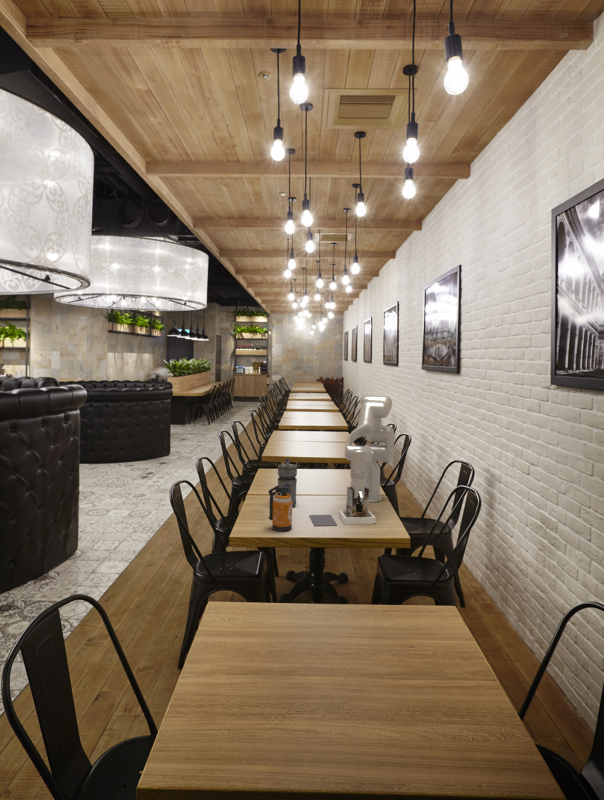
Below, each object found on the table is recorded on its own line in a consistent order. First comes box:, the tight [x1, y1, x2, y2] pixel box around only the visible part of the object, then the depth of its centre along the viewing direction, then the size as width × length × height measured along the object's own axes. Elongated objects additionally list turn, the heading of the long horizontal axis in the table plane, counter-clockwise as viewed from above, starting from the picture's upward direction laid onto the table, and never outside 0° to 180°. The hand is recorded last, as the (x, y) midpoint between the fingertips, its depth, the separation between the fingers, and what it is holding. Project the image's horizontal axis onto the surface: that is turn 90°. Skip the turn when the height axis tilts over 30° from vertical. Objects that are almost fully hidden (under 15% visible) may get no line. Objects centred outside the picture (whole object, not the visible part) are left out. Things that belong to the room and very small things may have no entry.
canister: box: [268, 484, 293, 532], centre depth 233 cm, size 9×11×20 cm
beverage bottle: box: [277, 458, 298, 508], centre depth 270 cm, size 10×13×25 cm
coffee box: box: [345, 486, 369, 517], centre depth 248 cm, size 9×6×16 cm
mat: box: [308, 514, 338, 527], centre depth 247 cm, size 16×11×1 cm
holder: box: [338, 509, 377, 525], centre depth 249 cm, size 12×15×3 cm
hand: (357, 509), depth 248 cm, fingers closed on coffee box, 7 cm apart
